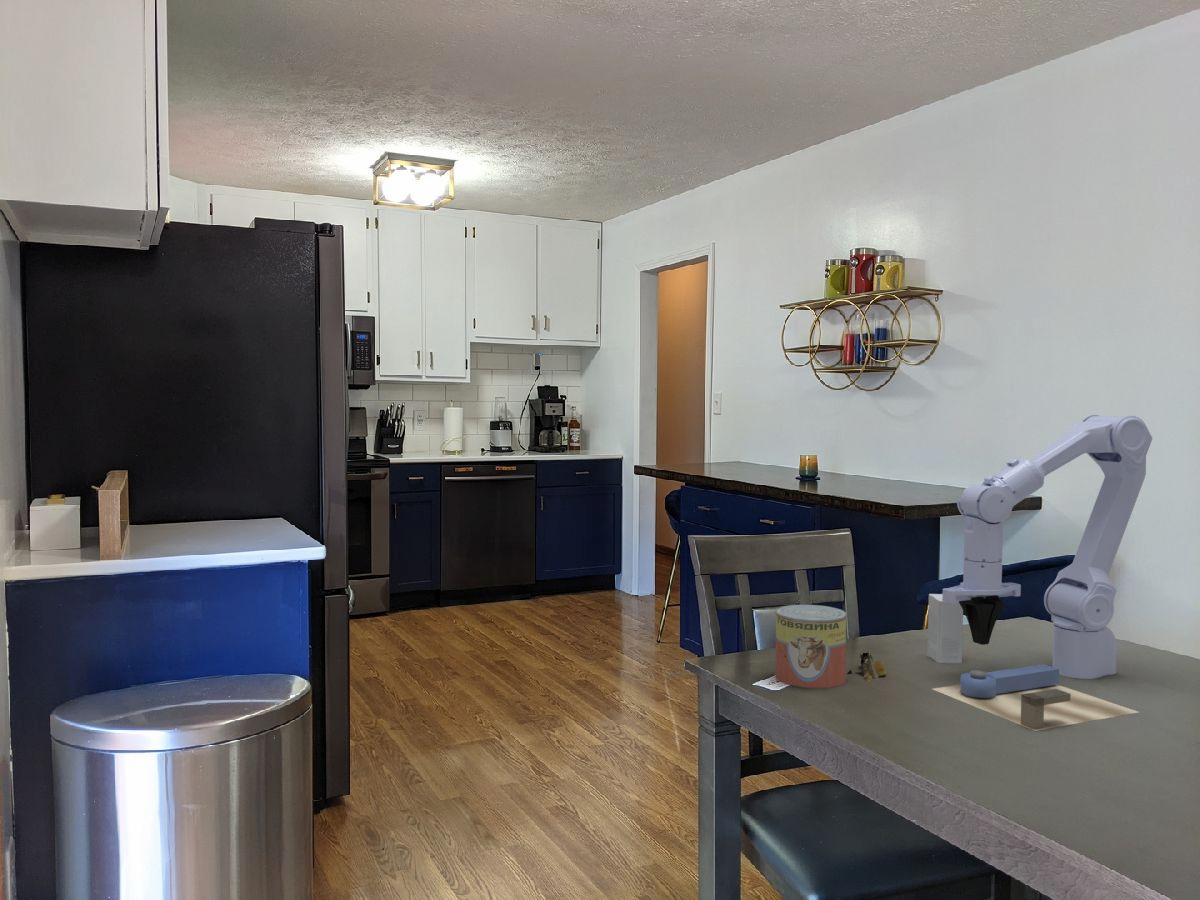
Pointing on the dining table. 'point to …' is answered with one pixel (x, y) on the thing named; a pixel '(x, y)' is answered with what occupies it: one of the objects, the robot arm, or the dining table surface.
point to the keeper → (1039, 706)
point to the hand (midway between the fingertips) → (980, 643)
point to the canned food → (811, 646)
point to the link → (1007, 680)
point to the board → (1054, 714)
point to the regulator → (870, 667)
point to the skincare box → (944, 630)
